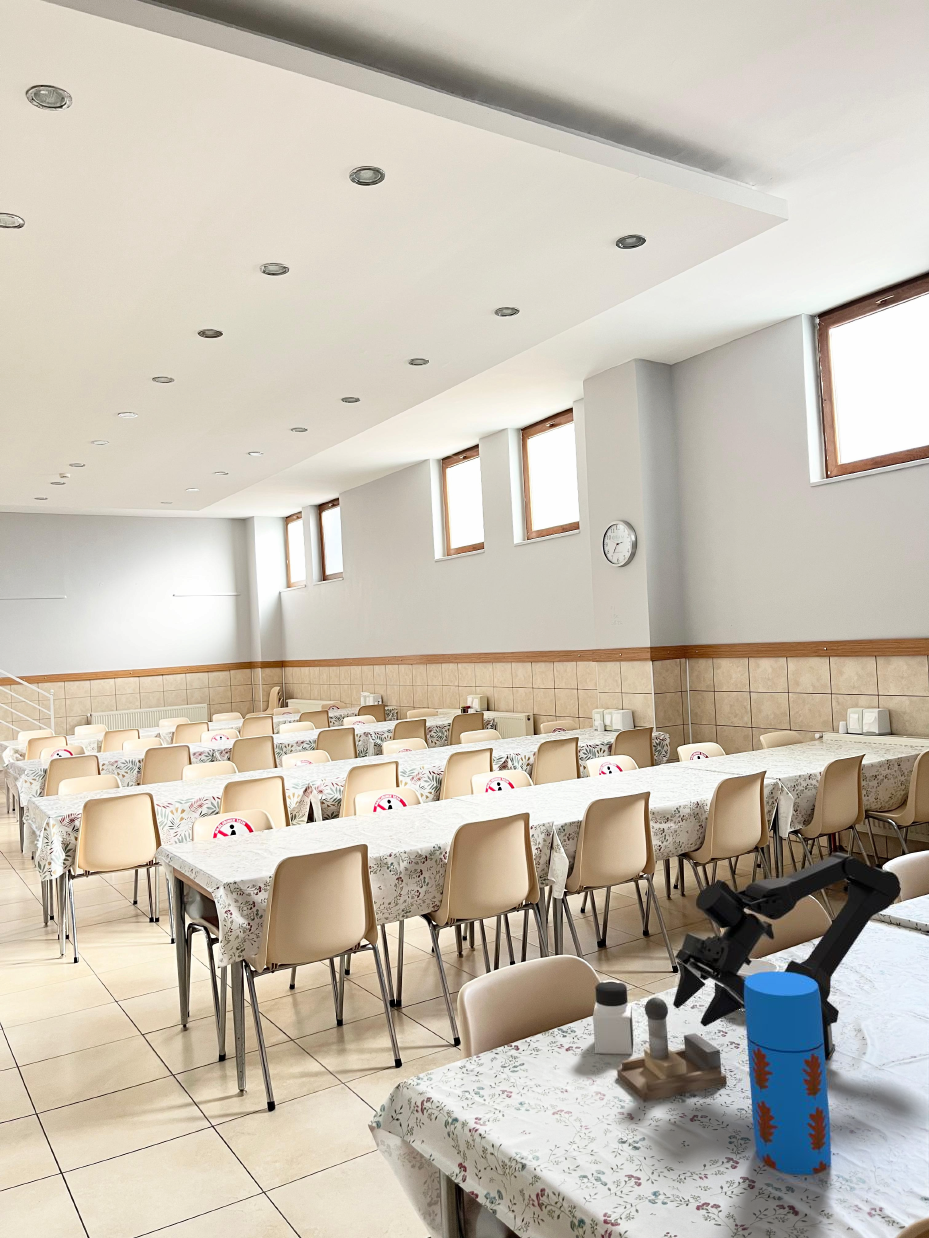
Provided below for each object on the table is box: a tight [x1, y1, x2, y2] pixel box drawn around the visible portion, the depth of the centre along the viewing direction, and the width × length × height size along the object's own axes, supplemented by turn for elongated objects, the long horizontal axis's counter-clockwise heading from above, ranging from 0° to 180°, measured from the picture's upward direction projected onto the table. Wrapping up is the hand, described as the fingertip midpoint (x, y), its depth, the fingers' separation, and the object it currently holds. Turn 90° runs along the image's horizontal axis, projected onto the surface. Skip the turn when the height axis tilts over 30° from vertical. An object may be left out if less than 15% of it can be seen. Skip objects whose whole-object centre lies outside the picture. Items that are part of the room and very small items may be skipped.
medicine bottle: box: [592, 979, 634, 1055], centre depth 175 cm, size 7×7×12 cm
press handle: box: [643, 997, 687, 1079], centre depth 159 cm, size 5×8×13 cm, turn 17°
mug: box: [737, 958, 780, 1012], centre depth 193 cm, size 13×10×8 cm
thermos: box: [744, 971, 832, 1176], centre depth 134 cm, size 11×11×25 cm
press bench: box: [616, 1032, 728, 1103], centre depth 159 cm, size 16×10×6 cm, turn 107°
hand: (688, 1015), depth 161 cm, fingers open, 9 cm apart
